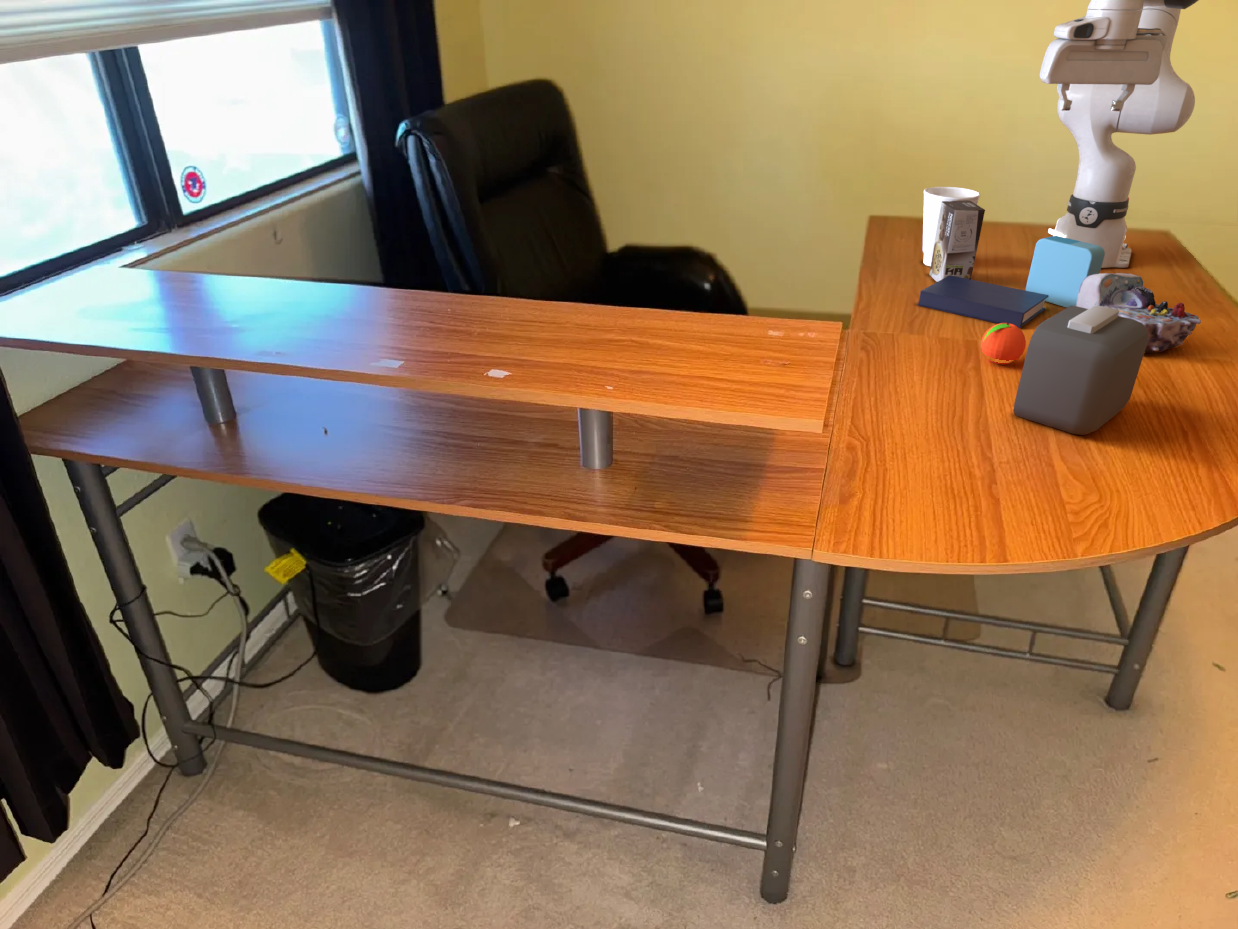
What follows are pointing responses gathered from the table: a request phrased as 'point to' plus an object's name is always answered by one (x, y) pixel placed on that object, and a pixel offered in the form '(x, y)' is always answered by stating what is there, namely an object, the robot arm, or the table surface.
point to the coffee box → (956, 239)
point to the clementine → (1003, 342)
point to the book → (983, 300)
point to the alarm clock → (1080, 368)
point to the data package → (1062, 268)
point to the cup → (932, 212)
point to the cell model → (1138, 308)
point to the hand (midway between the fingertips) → (1089, 110)
